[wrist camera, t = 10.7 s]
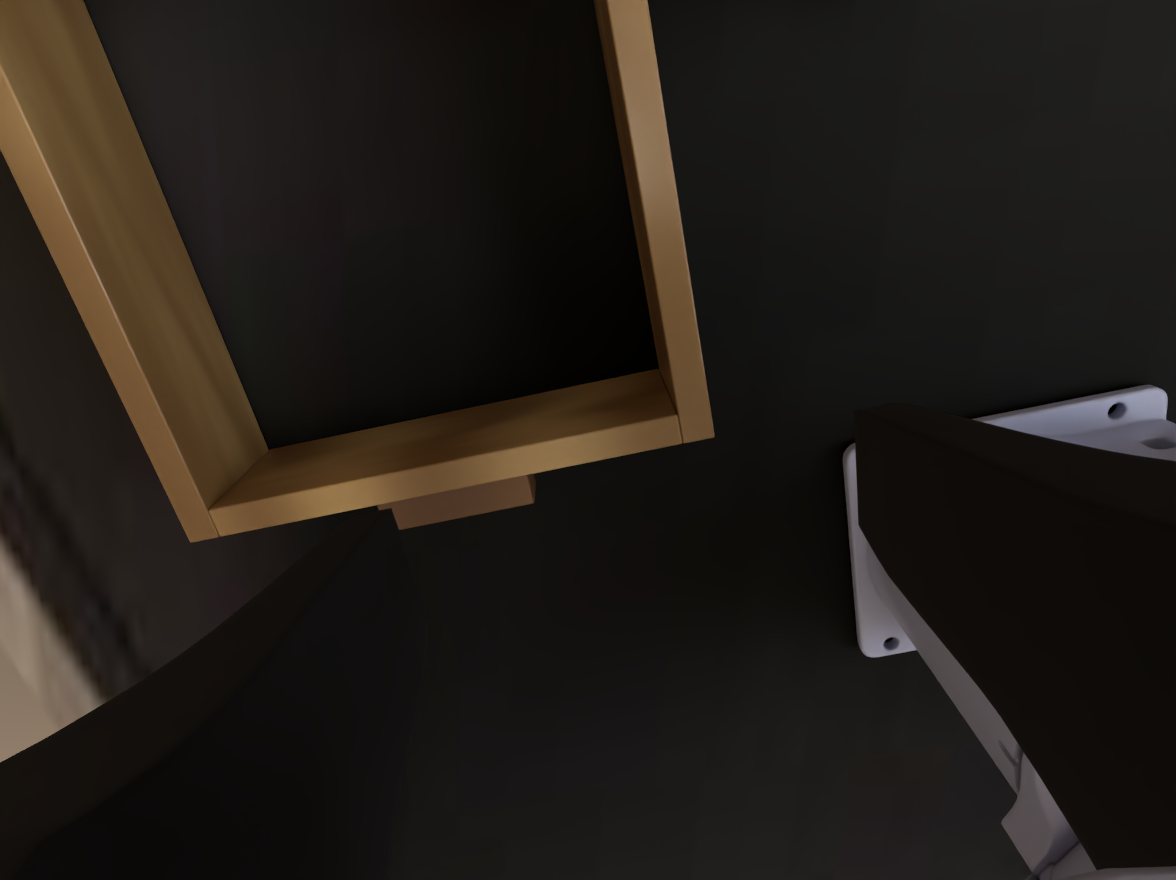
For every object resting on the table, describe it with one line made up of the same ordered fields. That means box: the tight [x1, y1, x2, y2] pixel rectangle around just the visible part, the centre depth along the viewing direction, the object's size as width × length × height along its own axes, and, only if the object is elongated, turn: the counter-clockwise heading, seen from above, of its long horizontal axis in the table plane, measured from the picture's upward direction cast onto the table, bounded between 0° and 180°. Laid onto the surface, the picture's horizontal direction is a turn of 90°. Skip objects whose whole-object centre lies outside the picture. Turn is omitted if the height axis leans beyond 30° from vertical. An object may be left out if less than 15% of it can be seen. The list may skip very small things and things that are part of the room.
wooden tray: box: [0, 0, 715, 542], centre depth 17 cm, size 14×16×4 cm
